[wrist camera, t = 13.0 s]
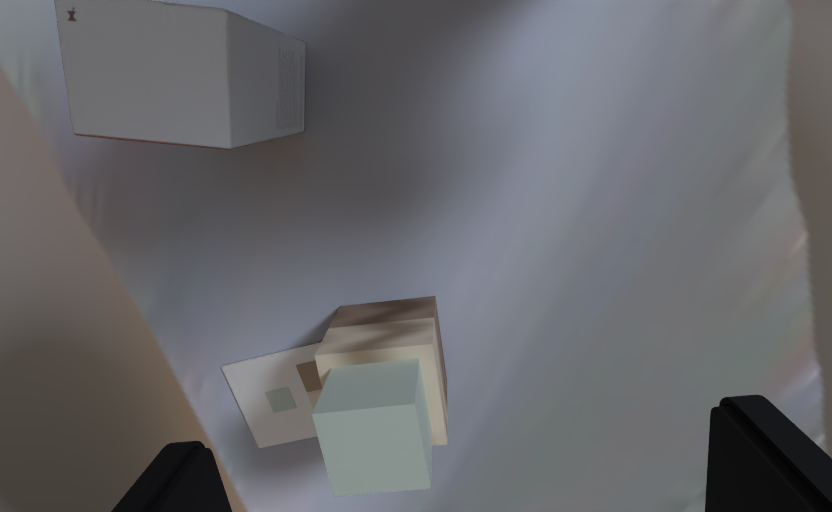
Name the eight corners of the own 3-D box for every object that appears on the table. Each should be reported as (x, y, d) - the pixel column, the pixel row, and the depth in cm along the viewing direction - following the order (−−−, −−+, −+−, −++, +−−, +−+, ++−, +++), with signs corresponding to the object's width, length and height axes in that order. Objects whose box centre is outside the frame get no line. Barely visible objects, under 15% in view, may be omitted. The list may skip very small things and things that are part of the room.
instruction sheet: (349, 335, 40) (348, 336, 40) (380, 421, 42) (380, 423, 42) (222, 365, 42) (220, 367, 41) (259, 447, 44) (258, 449, 44)
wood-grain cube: (434, 296, 38) (432, 344, 31) (446, 380, 41) (447, 444, 33) (339, 306, 39) (314, 355, 31) (356, 388, 41) (337, 453, 34)
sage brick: (419, 357, 31) (414, 403, 26) (432, 432, 33) (430, 488, 28) (331, 367, 32) (311, 414, 27) (349, 440, 33) (333, 496, 29)
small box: (200, 124, 35) (68, 136, 23) (195, 31, 33) (46, -12, 21) (307, 134, 35) (232, 151, 23) (308, 41, 33) (226, 4, 21)
